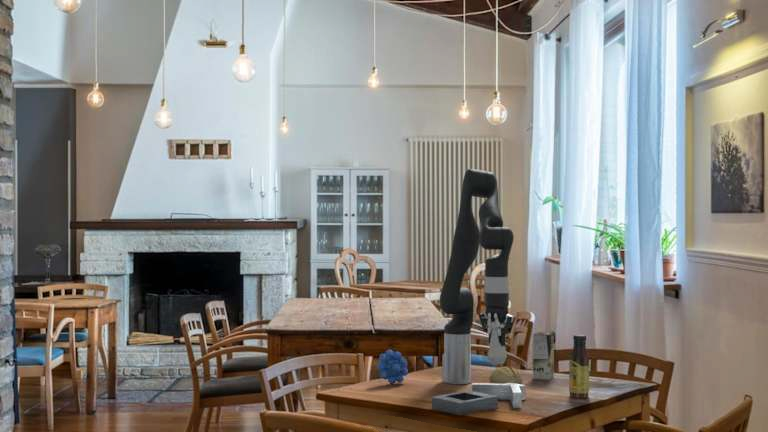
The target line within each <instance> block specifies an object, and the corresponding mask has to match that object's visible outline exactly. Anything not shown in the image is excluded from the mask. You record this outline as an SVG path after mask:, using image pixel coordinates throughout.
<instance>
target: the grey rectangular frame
mask: <svg viewBox="0 0 768 432" xmlns="http://www.w3.org/2000/svg"><path fill="white" fill-rule="evenodd" d="M430 404H431V405H430V407H431V409H432V410H435V411H440V412H443V413H444V412H445V413H447V414H453V415H456V416H464V415H468V414H474V413H480V412H485V411H490V410H494V409H498V408H499V399H498V396H494V395H489V394H484V393H479V392H474V391H472V390H470V389H469V390H465V391H457V392H452V393H447V394H446V393H445V394H440V395H435V396H431V403H430Z"/></svg>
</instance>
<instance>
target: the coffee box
mask: <svg viewBox="0 0 768 432" xmlns="http://www.w3.org/2000/svg"><path fill="white" fill-rule="evenodd" d="M554 339H555V332H548V331H547V332H546V331H545V332H543V331H538V332H535V333H533V334H532V379H533V380H544V381H550V380H551V379H552V378H554V376H555V373H554V372H555V371H554V370H555V364H554V363H555V358H554V357H555V356H554V355H555V351H554V350H555V348H554V347H555V345H554V344H555V342H554V341H555V340H554Z"/></svg>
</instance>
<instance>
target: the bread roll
mask: <svg viewBox="0 0 768 432" xmlns="http://www.w3.org/2000/svg"><path fill="white" fill-rule="evenodd" d="M489 382H490V383H493V384H506V383H516V384H521V385H523V377H522V374H521V372H520V371H519V370H518V369H517V368H515V367H513V366H501V367H497V368H495V369H493V370H492V372H491V374H490V376H489Z"/></svg>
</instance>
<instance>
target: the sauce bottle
mask: <svg viewBox="0 0 768 432" xmlns="http://www.w3.org/2000/svg"><path fill="white" fill-rule="evenodd" d="M572 339H573V348H572V350H571V351H572V352H571V354H570V356H569V367H568V369H569V371H568V373H569V374H568V375H569V376H568V380H569V381H568V382H569V383H568V391H569V396H570V397H572V398H574V397H575V398H576V399H584V398H585V397H587V398H588V397H589V394H590V393H589V392H590V356H589V354H588V352H587V350H586V349H587V348H586V346H587V345H586V342H587V335H586V334H580V333H578V334H577V333H576V334H573V337H572ZM585 399H586V398H585Z"/></svg>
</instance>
